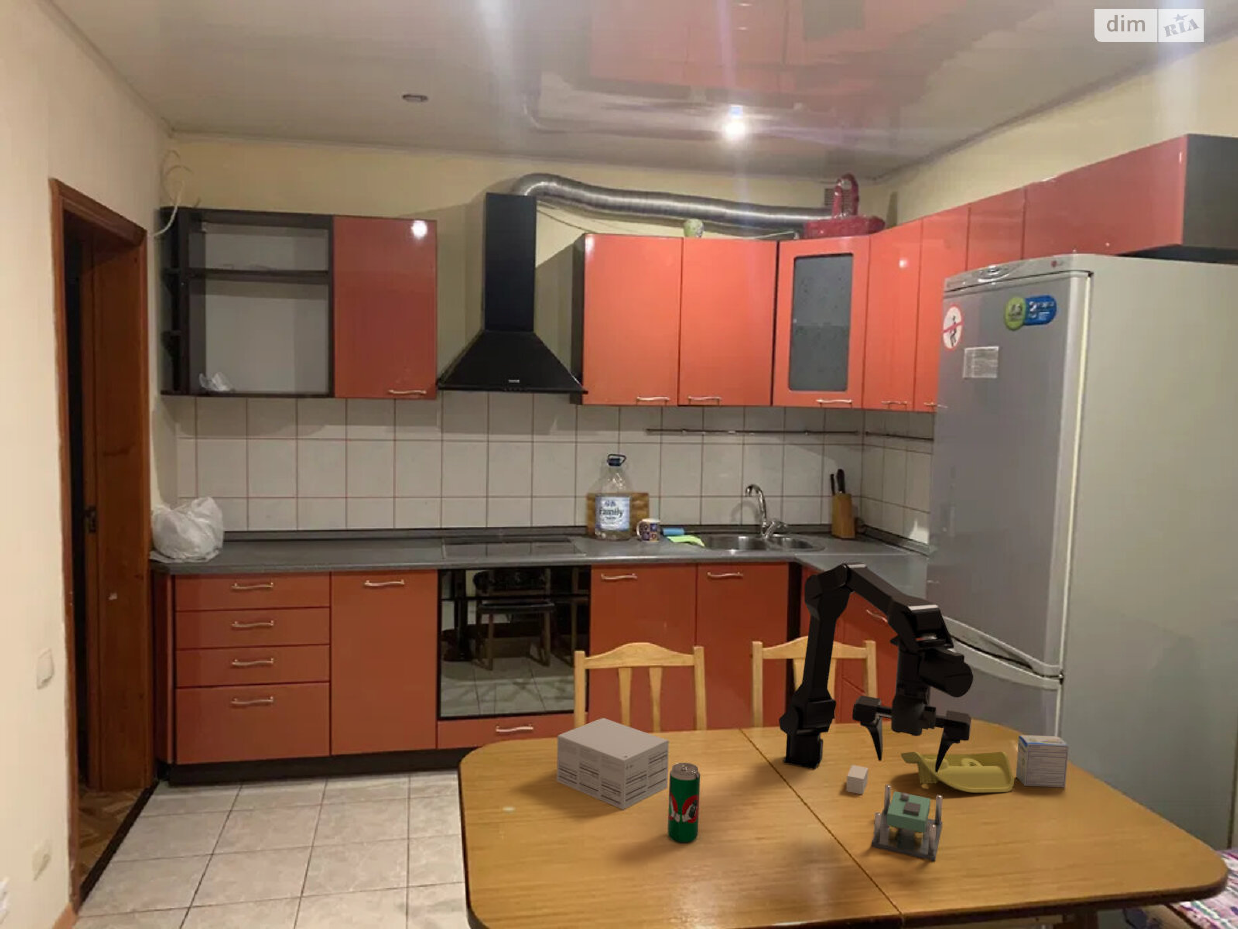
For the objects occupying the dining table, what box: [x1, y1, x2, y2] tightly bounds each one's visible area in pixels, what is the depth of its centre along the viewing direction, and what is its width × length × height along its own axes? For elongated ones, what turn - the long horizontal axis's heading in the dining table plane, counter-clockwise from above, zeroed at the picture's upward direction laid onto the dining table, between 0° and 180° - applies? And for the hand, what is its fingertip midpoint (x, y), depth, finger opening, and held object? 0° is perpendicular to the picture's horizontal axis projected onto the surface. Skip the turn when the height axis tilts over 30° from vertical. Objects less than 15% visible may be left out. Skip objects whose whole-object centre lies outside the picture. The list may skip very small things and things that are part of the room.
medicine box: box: [1015, 734, 1070, 788], centre depth 176 cm, size 8×4×9 cm, turn 88°
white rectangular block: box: [845, 764, 869, 795], centre depth 172 cm, size 3×5×3 cm, turn 156°
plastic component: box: [900, 751, 1015, 793], centre depth 175 cm, size 20×7×10 cm
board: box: [887, 791, 931, 833], centre depth 153 cm, size 6×9×3 cm, turn 156°
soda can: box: [667, 762, 701, 844], centre depth 151 cm, size 5×5×12 cm
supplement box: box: [556, 717, 670, 810], centre depth 170 cm, size 17×13×9 cm
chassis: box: [871, 784, 943, 862], centre depth 154 cm, size 10×13×6 cm
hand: (907, 765), depth 154 cm, fingers open, 9 cm apart
